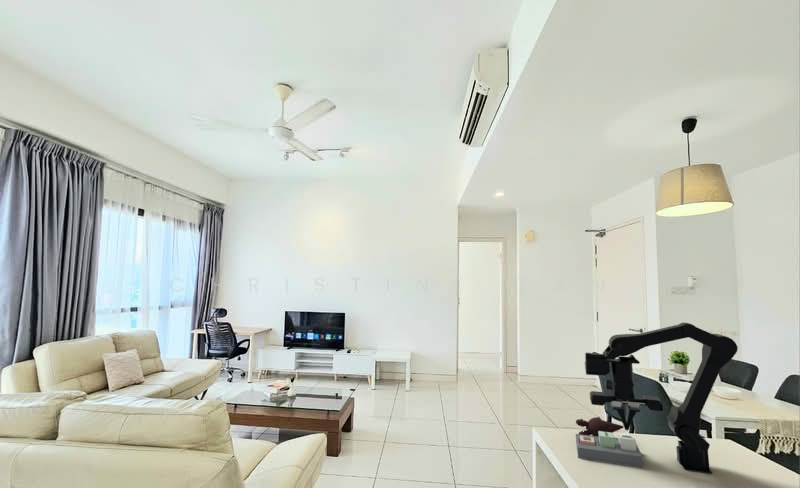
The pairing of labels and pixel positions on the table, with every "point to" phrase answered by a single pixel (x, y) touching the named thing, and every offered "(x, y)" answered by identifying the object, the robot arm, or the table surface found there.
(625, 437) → the key ivory
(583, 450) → the keypad
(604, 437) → the key sage
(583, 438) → the key coral
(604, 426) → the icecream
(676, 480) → the table surface
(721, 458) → the table surface
